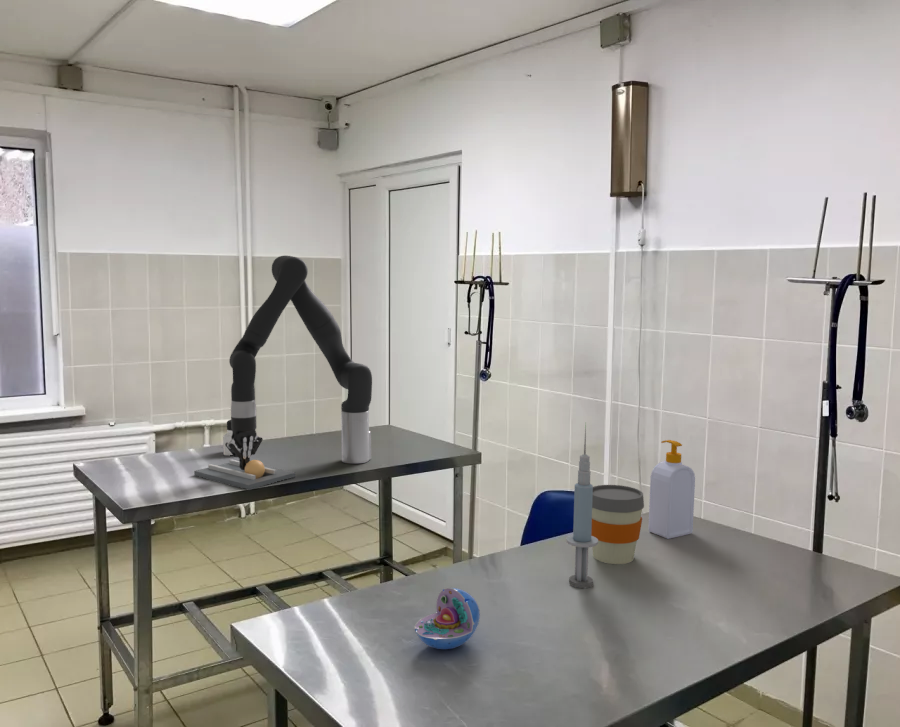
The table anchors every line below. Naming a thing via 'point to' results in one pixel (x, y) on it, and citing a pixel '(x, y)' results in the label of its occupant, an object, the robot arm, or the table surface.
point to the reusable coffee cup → (616, 522)
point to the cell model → (450, 620)
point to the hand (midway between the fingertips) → (244, 469)
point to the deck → (242, 475)
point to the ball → (255, 468)
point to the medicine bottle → (227, 439)
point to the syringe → (582, 523)
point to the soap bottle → (671, 496)
